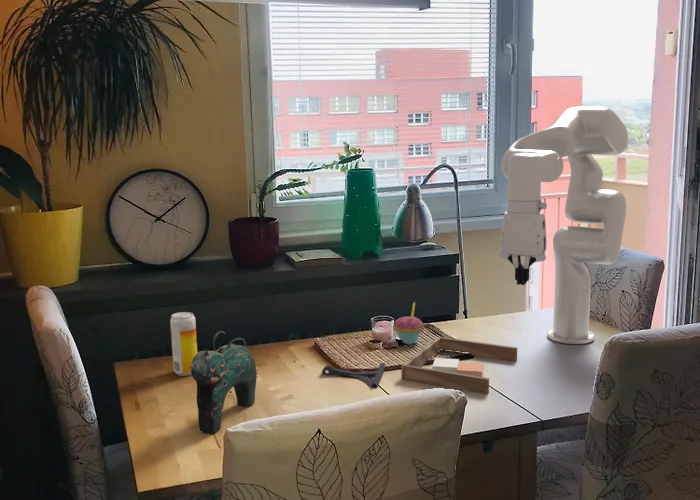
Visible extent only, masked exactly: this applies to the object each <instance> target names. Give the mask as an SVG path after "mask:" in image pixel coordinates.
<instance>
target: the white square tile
mask: <svg viewBox="0 0 700 500" xmlns="http://www.w3.org/2000/svg"><path fill="white" fill-rule="evenodd" d="M459 362H460V359H459V358H457V359H456V358H441V357H440V358H439V357H435V358H434V361H433V363H432V369H435V370H441V371H448V372H454V373H457V367H458V364H459Z"/></svg>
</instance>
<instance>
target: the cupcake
mask: <svg viewBox="0 0 700 500" xmlns="http://www.w3.org/2000/svg"><path fill="white" fill-rule="evenodd" d="M415 309H416V300H415V301H413V303H412V309H411V314H410V316H409V315H407V316H400V317H399V318H397V319H396V320H394V322H393V325H392V329H393V330H394V331H395V332H396V334H397V335H398V338H399V341H400V340H402V341H403V342H404V343H405V344H406V345H412V344H413V343H414V344H416V343H418V340H419V337H420V334H421V332H422V331H424V327H425V323H424V322H423V321H422V320H421V319H420V318H418V317H416V316H414V315H415ZM404 343H403V344H404ZM414 344H413V345H414Z"/></svg>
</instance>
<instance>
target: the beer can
mask: <svg viewBox="0 0 700 500" xmlns="http://www.w3.org/2000/svg"><path fill="white" fill-rule="evenodd" d="M169 321H170V337H171V338H170V339H171V351H172V352H171V353H172V366H173V367H172V369H173V372H174V373H175V375H177V376H180V377H181V376H183V377H185V376H192V374H191V364H192V360H193V358H194V356H195V355H196V354H197V353H198V343H197V341H198V340H197V327H196V326H197V323H196V317H195V315H194V313H193V312H191V311H190V312H189V311H181V312H179V311H178V312H175V313H173V314H171V317H170V320H169Z"/></svg>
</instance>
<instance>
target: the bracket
mask: <svg viewBox="0 0 700 500" xmlns="http://www.w3.org/2000/svg"><path fill="white" fill-rule="evenodd" d="M379 365H380V366H379ZM379 365H378V366H379V368H378V370H377V371H367V370H363V371H365V372H363V371H362V370H361V371H350V370H343V369H339V368H336V367H333V366H330V365H326V366H324V367H323V369H322V370H321V375H322V376H333V377H334V376H338V377H349V378H355V379H358V380H360V381H362V382H363V383H366V384H367V385H368V387H369V388H373V386H375V388H376V389H378V388H379V385H380V382H381V380H382V378H383V377H382V376H383V375H384V372H385V370H384V366H385V365H386V363H384V362H381V363H380V364H379Z"/></svg>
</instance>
